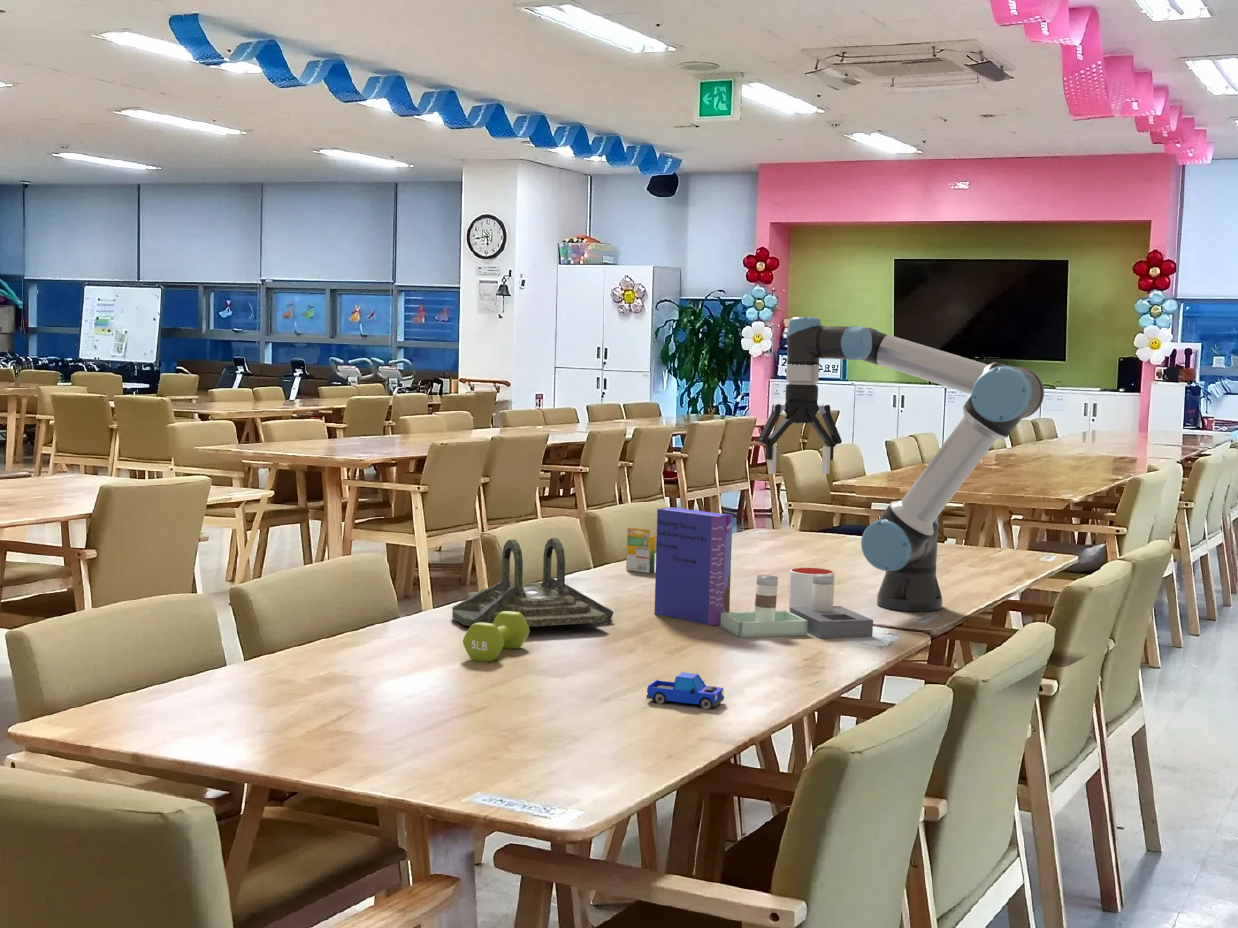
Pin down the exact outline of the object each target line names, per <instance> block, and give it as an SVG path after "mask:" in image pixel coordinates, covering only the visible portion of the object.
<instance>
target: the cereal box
mask: <svg viewBox="0 0 1238 928" xmlns="http://www.w3.org/2000/svg"><path fill="white" fill-rule="evenodd" d="M656 512H657V513H656V541H655V583H654V585H655V586H654V615H655V616H659V617H660V616H661V617H663V618H664V617H665V618H669V619H675V620H680V621H684V622H685V621H686V622H690V623H696V624H700V625H704V626H705V625H706V626H709V627H719V626H721V613H726V612H730V609H731V608H730V603H731V578H732V577H731V576H732V575H731V573H732V571H731V570H732V569H731V568H732V544H733V538H732V537H733V514H727V513H721V512H720V513H718V512H712V511H711V512H710V511H702V510H694V509H686V508H680V507H679V508H678V507H672V506H671V507H669V506H667V507H664V506H663V507H660V508H657V510H656Z"/></svg>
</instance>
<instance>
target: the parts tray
mask: <svg viewBox="0 0 1238 928" xmlns="http://www.w3.org/2000/svg"><path fill="white" fill-rule="evenodd" d="M754 614H755V611H736V612H735V611H731V612H730V611H729V612H726V613H721V626H720V628H722V629H724V630H725V631H726V632H729V633H731V634H732V635H734V636H736V637H738V638H757V637H758V638H763V637H764V638H766V637H790V636H791V637H792V636H793V637H797V636H808V632H807V622H808V621H807V620H805V619H803V618H801V617H799V616H797V615H795V614H793V613H790V611H789V610H776V613H775V621H762V622H754Z"/></svg>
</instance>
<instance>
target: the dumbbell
mask: <svg viewBox="0 0 1238 928" xmlns="http://www.w3.org/2000/svg"><path fill="white" fill-rule="evenodd" d="M530 631H531V629H530V627H529V626H528V624H527V622H526V620H525V618H524V616H523V615H522V614H521V613H520V612H514V611H503V612H500V613H499V614H498V615H497V616H496V618H495V620H494V621H493V623H492V624H491V623H483V622H478V623H474V624H472V625H469V628H468V629H467V631H466V632H465V635H464V636H463V639H462V645H463V647H464V649H465V652H466V653H467V656H468V657H469V659H470V660H471V661H473V662H481V663H482V662H483V663H491V662H494V661H495V660H496V659H497V658H498V656H499V655H500V653H501V651H502V649H507V650H508V649H509V650H516V649H520V648H521V647H522V646H523V645H524V644H525V641H526V640H527V639H528V637H529V634H530Z"/></svg>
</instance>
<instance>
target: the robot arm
mask: <svg viewBox="0 0 1238 928" xmlns="http://www.w3.org/2000/svg"><path fill="white" fill-rule="evenodd" d="M787 328H788V329H787V335H786V337H787V348H786V349H787V351H786V353H787V355H786V360H787V361H786V379H785V380H786V382H788V384H786V385H785V403H784V404H780V403H773V404H772V406H771V407H772V408H771V413H770V415H769V417H768V419H767V421H766V423H765V424H764V426H763V429H762V431H761V432H760V434H759V436H758V439H757V442H758V443H761V444H763V445H764V446H765V459H766V460H768V474H770V475H776V474H777V449H778V447H777V446H776V445H775V444H776V443H777V441H778V440H779V439H780V438H781V437H782V436H783V434H784V433H785V432H786V430H787V429H788V428H789V427H790V426H791V425H792V424H810V425H811V426H812V428H813V429H814V430H815V432H816V434H817V435H819V437H820V439H821V440H822V442H823V443H824V444H825V445H823V446H822V454H821V455H822V457H821V459H822V460H821V474H824V475H830V472H831V470H830V466H831V461H833V459H834V453H835V451H834V450H835V448H834V447H836V446H837V445H839V444H842V443H843V442H842V441H843V440H842V438H841V436H840V433H839V430H838V428H837V426H836V423H835V421H834V418H833V416H832V414H831V406H830V404H824V403H822V405H818V400H819V386H818V384H817V383H819V379H820V378H819V375H820V374H819V373H820V372H819V371H820V359H823V360H824V359H830V360H850V361H857V360H858V361H859V360H860V361H864V362H868V363H870V364H873V365H877V366H882V367H885V368H887V369H891V370H893V371H897V372H900V373H902V374H907V375H909V376H913V377H916V378H918V379H921V380H924V381H928V382H931V383H934V384H937V385H940V386H943V387H947V388H950V389H952V390H957V391H959V392H963V393H966V394H969V395H970V396H969V398H967V400H966V402H964V404H963V406H962V409H963V417H962V418H961V420H960V421H959V423H958V424H957V425H956V427H955V428H954V429H953V431H952V432H951V433H950V435H949V436H948V437H947V439H946V440H945V442H944V443H943V444H942V445H941V446H940V448H939V450H938V451H937V452H936V453H935V455H934V456H933V458H932V459H931V460H930V461H929V463H928V464H927V465H926V467H925V468H924V470H923V471H922V472H921V474H920V475H919V476H918V478H917V479H916V480H915V481H914V483H913V484H912V486H911V487H910V488H909V489H908V491H907V492H906V494H904V496H903V498H902V499H901V500H897V501H896V500H895V501H891V502H890V503H889V505H888V506H887V507H886V508H885V510H884V512H883V513H882V514H881V515H880V517H879V518H878V519H877V520H875V521H872V522H871V523H870V524H868V526H867V527H866V528H865V529H864V531H863V533H862V536H861V541H860V543H861V544H860V545H861V550H862V554H863V556H864V558H865V559H866V560H867V562H868V564H870V565H871V566H872V567H873V568H876V569H877V570H880V571H884V572H885V574H884V576H883V578H882V579H883V580H882V582H881V583H880V584H881V585H880V587H879V590H878V593H877V597H876V598H877V600H876V605H878V606H879V607H880V608H884V609H890V610H897V611H905V612H932V611H933V612H934V611H940V610H941V609H942V608H943V596H942V592H941V588H940V585H939V582H938V578H937V561H938V537H939V528H940V524H939V515H941V513H942V511H943V510H944V509H945V507H946V506H947V505H949V502H950V501H951V500H952V499H953V497H954V496H955V495H956V493H957V492H958V491H959V489H960V487H962V485H964V484H965V482H966V480H967V479H968V478H969V476H970V475H971V474H972V472H973V471H974V469H976V467H977V466H978V464H980V463H981V461H982V459H983V458H984V457H985V456H986V455H987V453H988V451H989V450H990V449H991V447H992V446H993V445H994V443H995V442H996V441H997V440H1000V439H1001V440H1002V439H1007V438H1008V437H1009V436H1010V434H1011V433H1013V430H1014V429H1015V428H1016V427H1017V425H1018V424H1019V423H1020V422H1021V420H1022V419H1025V418H1028V417H1031V416H1032V415H1033V414H1035V413H1036V412H1037V411H1038V410H1039V409H1040V407H1041V406H1042V404H1043V401H1044V397H1045V388H1044V383H1043V382H1042V380H1041V378H1040V376H1039V375H1038V374H1037V373H1035V372H1034V371H1033V370H1031V369H1029V368H1027V367H1023V366H1014V365H1006V364H1003V363H1000V362H995V361H994V362H992V363H989V364H987V363H984V362H980V361H977V360H974V359H970V358H967V357H965V356H964V357H963V356H961V355H957V354H954V353H950V352H947V351H944V350H940V349H937V348H934V347H930V346H927V345H925V344H920V343H918V342H913V341H910V340H907V339H904V338H900V337H898V336H893V335H891V334H887V333H884V332H880V331H879V330H878V329H875V328H872V327H865V326H858V325H857V326H856V325H851V326H844V325H843V326H826V325H825V326H824V325H822V321H821V319H820V318H819V317H810V316H809V317H802V316H800V317H799V316H794V317H792V318H790V320H788V327H787ZM783 411H784V413H785V414H786V415H785V416H784V418H782V420H781V422H780V424H778V426H776V423H777V422H778V420H779V418H780V415H781V414H782V413H783ZM817 413H820V414H821V416H822V418H823V421H824V423H825V426H826V428H827V430H826V429H825V428H824V426H823V425H822V424H821V422H820V420H819V419H818V417H817V416H816V415H817ZM775 426H776V428H775ZM774 428H775V429H774ZM773 429H774V431H773ZM827 431H828V432H827Z"/></svg>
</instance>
